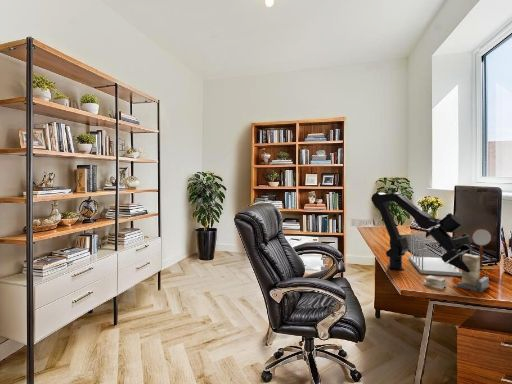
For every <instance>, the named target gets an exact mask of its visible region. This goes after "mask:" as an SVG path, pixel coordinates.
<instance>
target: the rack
mask: <svg viewBox="0 0 512 384" xmlns="http://www.w3.org/2000/svg"><path fill="white" fill-rule="evenodd" d="M489 282H490V280H489V277H488V276H483V277H482V278H479V281H477V286H473V285H468V284H464V283H462V282H460V281H459V282H458V281H457V282H456V287H458V288H461V289H462V288H463V289H465V290H469V289H470V291H474V292H477V293H483V292H484V291H485V290H487V289H488V288H489Z"/></svg>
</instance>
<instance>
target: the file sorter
mask: <svg viewBox="0 0 512 384" xmlns="http://www.w3.org/2000/svg"><path fill="white" fill-rule="evenodd" d="M414 234H415V235H414ZM413 235H414V236H413ZM415 238H416V239H415ZM419 239H421V240H419ZM418 240H419V241H418ZM417 241H418V243H417ZM423 241H426V242H424V243H423V244H422V245H421V242H423ZM417 244H418V245H417ZM427 244H438V245H440V244H439V243H438V242H437V241H436V240H435V239H434V238H433V237H432V236H429V237H426V231H415V232H412V233H411V234H410V255H409V256H408V260H409V261H410V262H411V263H412V264H413V266H414V267H415V268H416V269H417V270H418V272H419V273H420V274H425V275H441V276H453V277H455V276H456V277H462V269H460V268H457V267H455V266H453V265H451V264H448V262H449V261H448V262H446V263H445V262H444V261H443V260H442V257H433V256H432V257H429V256H424V247H425V245H427ZM417 246H418V248H417ZM420 246H421V247H420ZM441 249H442V255H444V254H445V253H447V252H446V251H445V250H444V249H443V248H441ZM444 251H445V253H444ZM417 252H418V253H417ZM442 255H441V256H442Z"/></svg>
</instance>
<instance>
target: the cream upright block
mask: <svg viewBox="0 0 512 384" xmlns="http://www.w3.org/2000/svg"><path fill="white" fill-rule="evenodd" d="M462 261H463V262H464V263H465V264H466V266H467V267H468V268H469V270H470V272H466V271H464V270H462V269H461V272H462V276H461V283H464V284H468V285H473V286H477V281H479V280H480V275H481V274H480V271H481V270H480V256H479V255H478V254H477V255H475V254H472V253H471V254H464V255H462Z"/></svg>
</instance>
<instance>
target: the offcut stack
mask: <svg viewBox="0 0 512 384" xmlns="http://www.w3.org/2000/svg"><path fill="white" fill-rule="evenodd" d="M424 284H425V285H424ZM423 285H424V286H427V285H429V286H428V287H431V286H432V288H435V287H436V288H435V289H438V288H440V289H439V290H443V289H445V288H446V287H447V282H446V278H443V277H439V276H434V275H432V274H428V276H426V277H425V280H423ZM444 287H445V288H444Z"/></svg>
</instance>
